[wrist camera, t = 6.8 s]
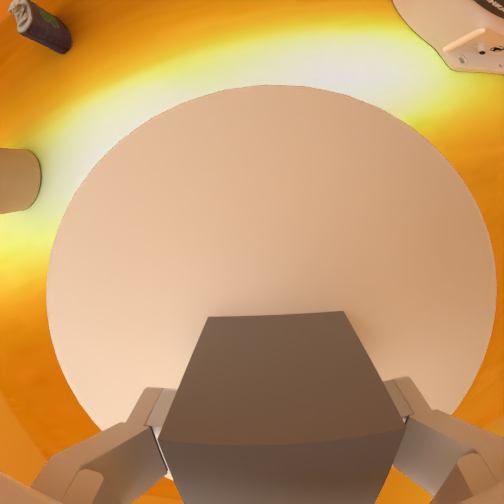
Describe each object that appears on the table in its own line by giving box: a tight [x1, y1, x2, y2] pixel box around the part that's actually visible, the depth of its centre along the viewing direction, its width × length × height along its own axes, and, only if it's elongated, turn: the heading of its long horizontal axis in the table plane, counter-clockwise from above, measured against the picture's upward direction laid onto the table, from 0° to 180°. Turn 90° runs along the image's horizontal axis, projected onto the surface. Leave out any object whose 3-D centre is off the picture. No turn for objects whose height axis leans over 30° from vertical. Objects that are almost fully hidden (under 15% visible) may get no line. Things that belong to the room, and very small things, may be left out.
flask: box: [8, 0, 72, 54], centre depth 21 cm, size 9×3×11 cm, turn 36°
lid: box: [47, 85, 497, 504], centre depth 7 cm, size 17×17×6 cm
